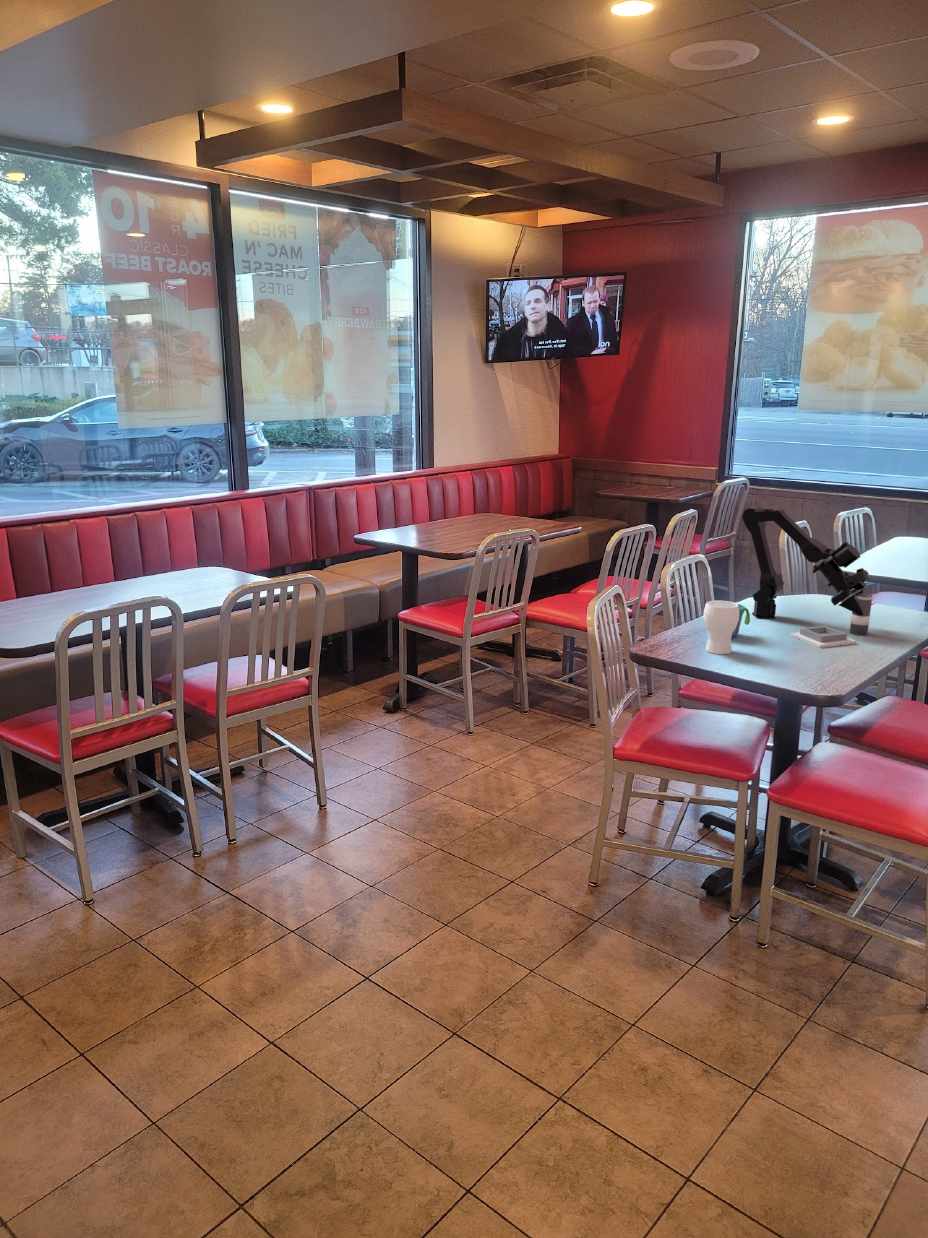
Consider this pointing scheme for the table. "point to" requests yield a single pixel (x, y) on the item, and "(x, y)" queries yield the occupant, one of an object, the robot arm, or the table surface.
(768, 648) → the table surface
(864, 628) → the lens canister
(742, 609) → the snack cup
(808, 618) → the table surface
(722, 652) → the cup
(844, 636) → the square framed plate
